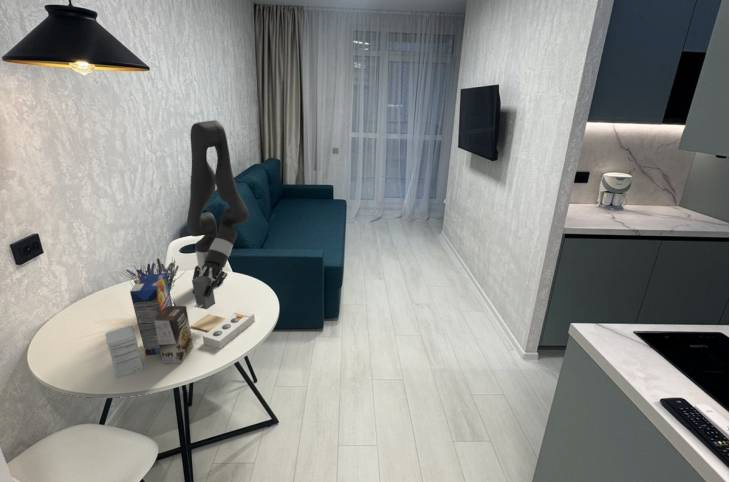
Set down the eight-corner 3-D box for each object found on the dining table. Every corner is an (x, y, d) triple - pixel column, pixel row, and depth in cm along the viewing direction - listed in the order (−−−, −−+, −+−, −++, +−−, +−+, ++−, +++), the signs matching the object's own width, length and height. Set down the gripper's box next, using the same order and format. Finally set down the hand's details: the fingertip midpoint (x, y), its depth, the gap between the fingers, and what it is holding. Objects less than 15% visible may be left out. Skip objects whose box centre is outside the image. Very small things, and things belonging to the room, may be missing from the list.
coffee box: (182, 363, 123) (173, 320, 117) (162, 363, 123) (152, 320, 117) (194, 346, 132) (186, 305, 126) (176, 346, 132) (167, 305, 126)
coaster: (191, 327, 143) (190, 325, 142) (208, 315, 150) (208, 314, 150) (209, 332, 139) (209, 331, 139) (226, 319, 147) (226, 318, 147)
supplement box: (114, 365, 122) (105, 332, 118) (141, 357, 126) (132, 324, 122) (116, 379, 117) (106, 344, 112) (144, 369, 121) (135, 335, 116)
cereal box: (155, 335, 138) (141, 275, 129) (178, 333, 139) (165, 273, 131) (145, 356, 127) (129, 291, 118) (170, 353, 128) (156, 289, 120)
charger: (192, 309, 139) (187, 282, 135) (206, 301, 145) (201, 275, 141) (202, 312, 137) (197, 284, 134) (215, 303, 143) (210, 276, 139)
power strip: (203, 343, 133) (202, 334, 132) (239, 316, 149) (238, 308, 148) (220, 348, 130) (219, 339, 129) (254, 320, 146) (253, 312, 145)
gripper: (198, 246, 144) (178, 289, 138) (228, 251, 139) (208, 295, 133) (210, 254, 151) (192, 295, 144) (239, 259, 145) (222, 302, 139)
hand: (200, 295), depth 139 cm, fingers closed on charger, 4 cm apart
